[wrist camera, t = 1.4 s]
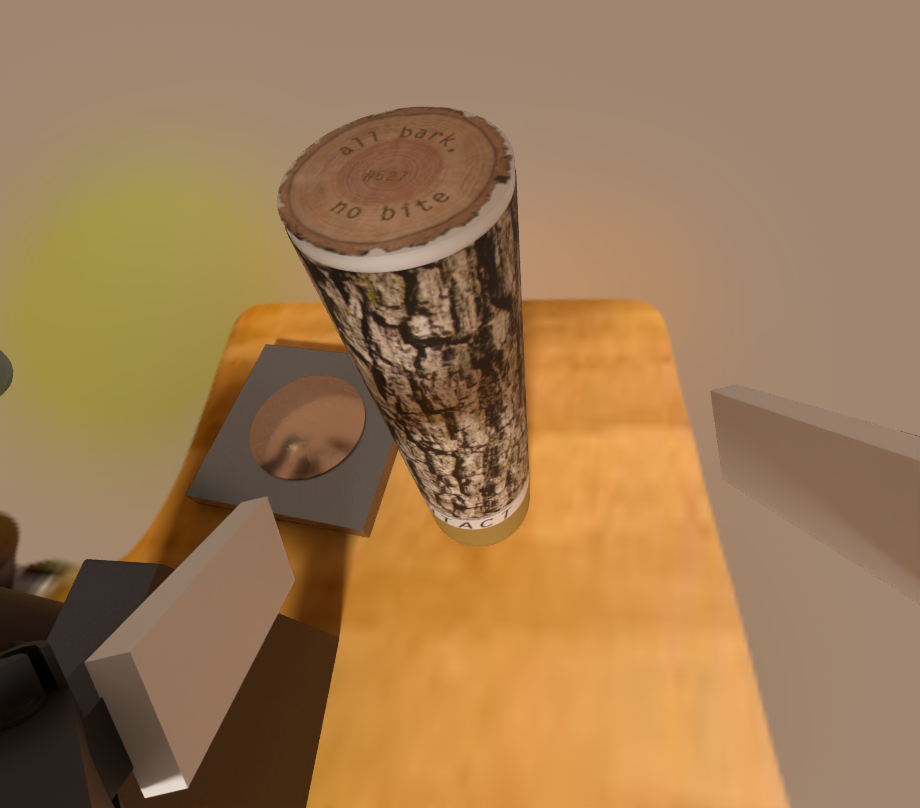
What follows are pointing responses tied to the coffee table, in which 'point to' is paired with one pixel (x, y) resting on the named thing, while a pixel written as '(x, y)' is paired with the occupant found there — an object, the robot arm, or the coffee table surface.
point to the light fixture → (251, 713)
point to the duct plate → (302, 444)
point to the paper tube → (426, 298)
